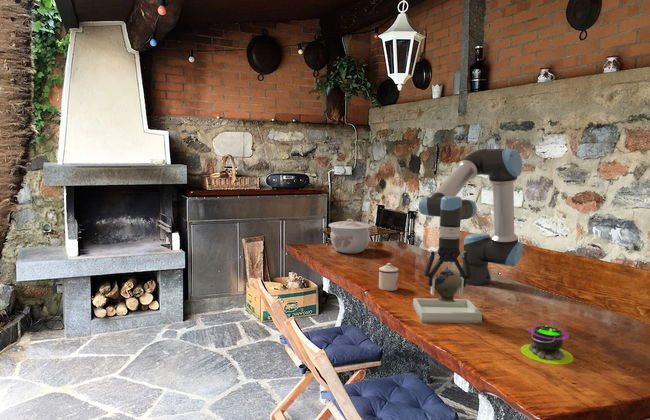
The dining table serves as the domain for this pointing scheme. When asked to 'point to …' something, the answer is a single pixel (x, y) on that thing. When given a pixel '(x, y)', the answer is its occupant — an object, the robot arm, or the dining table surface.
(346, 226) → the chamber pot
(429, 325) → the dining table surface
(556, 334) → the toy cauldron
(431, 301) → the serving tray
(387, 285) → the teacup with lid
